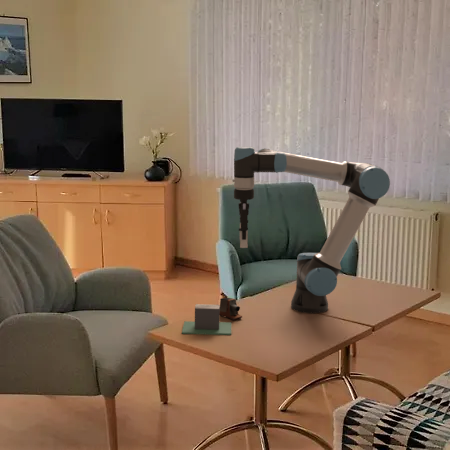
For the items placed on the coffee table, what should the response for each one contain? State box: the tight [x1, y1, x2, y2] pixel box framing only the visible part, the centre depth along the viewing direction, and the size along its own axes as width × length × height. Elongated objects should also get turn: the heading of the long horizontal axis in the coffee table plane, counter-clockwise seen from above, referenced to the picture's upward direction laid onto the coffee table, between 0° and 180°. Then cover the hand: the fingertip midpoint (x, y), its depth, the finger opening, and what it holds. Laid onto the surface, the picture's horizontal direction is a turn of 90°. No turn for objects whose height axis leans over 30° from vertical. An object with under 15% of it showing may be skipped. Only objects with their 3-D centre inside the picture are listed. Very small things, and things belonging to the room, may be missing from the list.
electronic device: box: [219, 297, 243, 322], centre depth 267 cm, size 4×10×8 cm, turn 41°
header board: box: [181, 320, 232, 336], centre depth 253 cm, size 18×12×4 cm, turn 89°
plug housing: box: [194, 303, 220, 330], centre depth 253 cm, size 9×5×8 cm, turn 89°
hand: (243, 243), depth 259 cm, fingers open, 13 cm apart
